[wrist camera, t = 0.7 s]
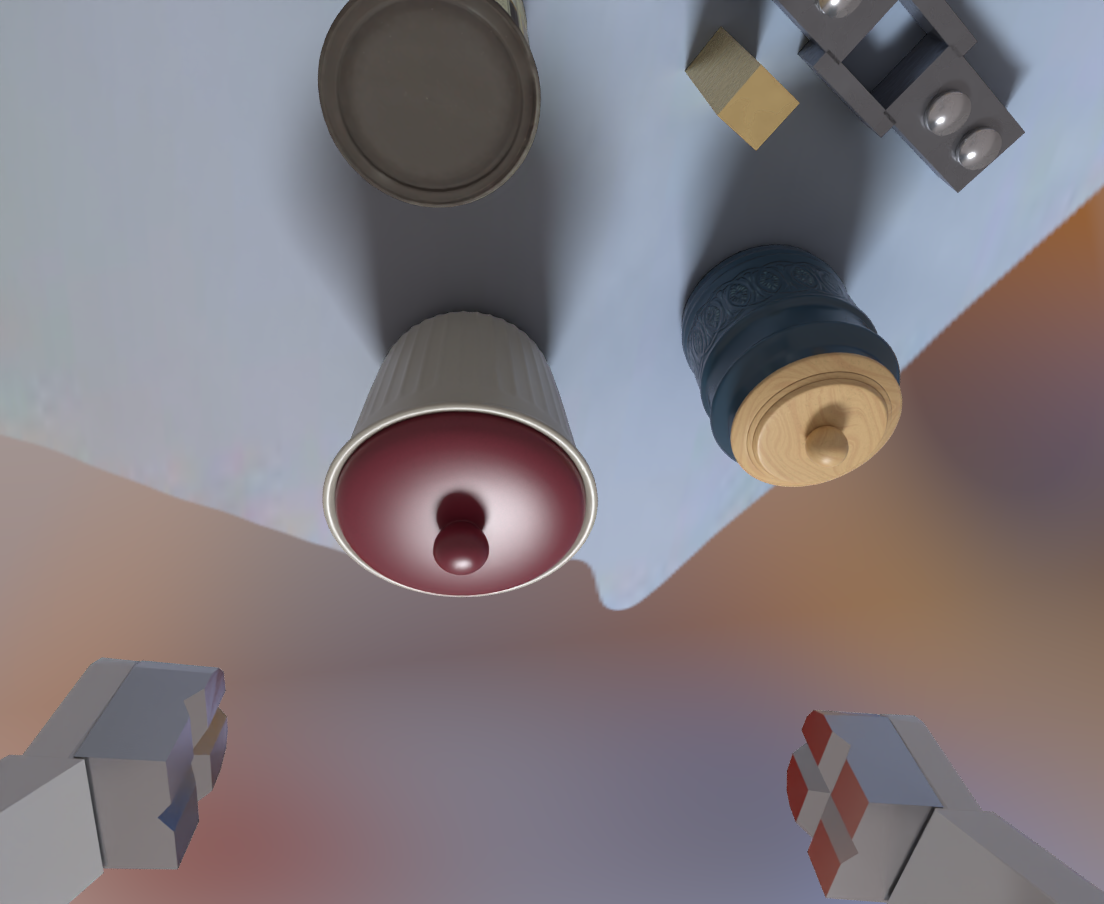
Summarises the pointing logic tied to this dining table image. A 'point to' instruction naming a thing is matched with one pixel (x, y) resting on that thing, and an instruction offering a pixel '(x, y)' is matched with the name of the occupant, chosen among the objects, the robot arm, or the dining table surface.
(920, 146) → the silver studded bar
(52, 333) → the dining table surface
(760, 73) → the gold rectangular block
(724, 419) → the canister
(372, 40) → the coffee can
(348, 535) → the canister
